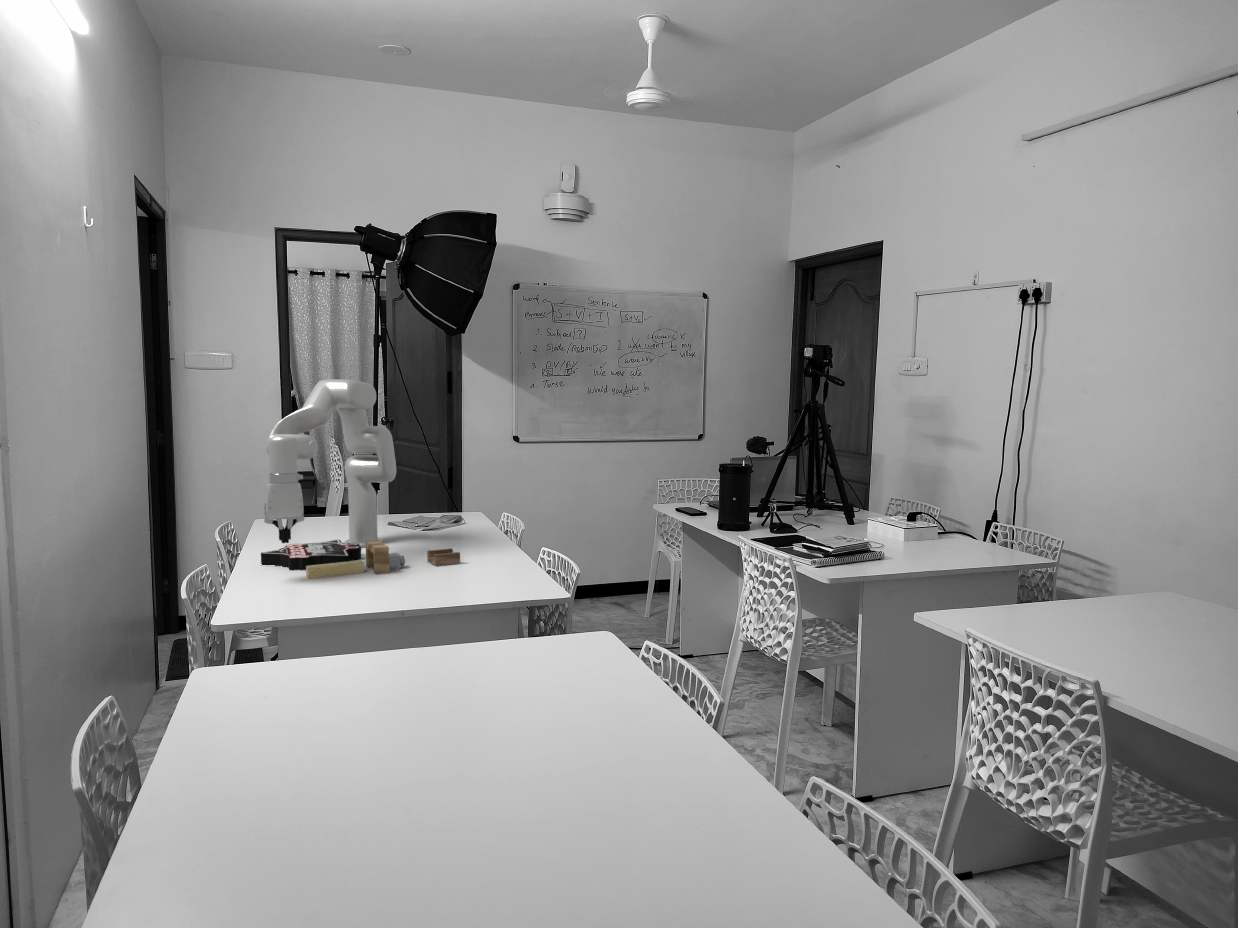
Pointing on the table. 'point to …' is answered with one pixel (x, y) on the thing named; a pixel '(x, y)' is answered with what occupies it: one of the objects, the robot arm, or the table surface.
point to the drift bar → (334, 569)
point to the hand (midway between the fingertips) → (285, 542)
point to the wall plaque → (312, 554)
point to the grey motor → (395, 561)
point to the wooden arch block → (377, 556)
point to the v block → (443, 557)
